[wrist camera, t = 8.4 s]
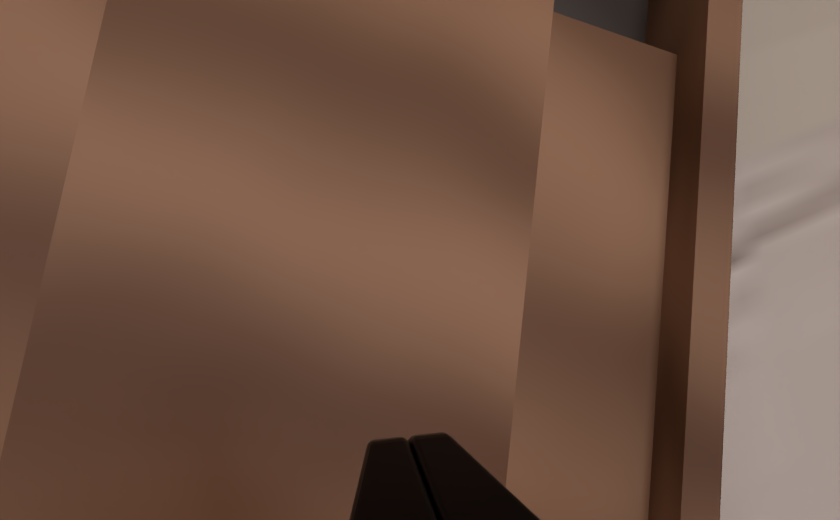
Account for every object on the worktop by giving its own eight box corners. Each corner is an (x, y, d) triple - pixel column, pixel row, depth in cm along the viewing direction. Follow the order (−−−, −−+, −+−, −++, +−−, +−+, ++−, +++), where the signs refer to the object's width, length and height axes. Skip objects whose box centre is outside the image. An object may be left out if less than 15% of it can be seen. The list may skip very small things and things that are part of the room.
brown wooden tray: (626, 749, 17) (844, 913, 12) (-422, 790, 11) (-922, 1171, 6) (689, -229, 22) (859, -411, 17) (8, -576, 16) (-48, -1025, 11)
